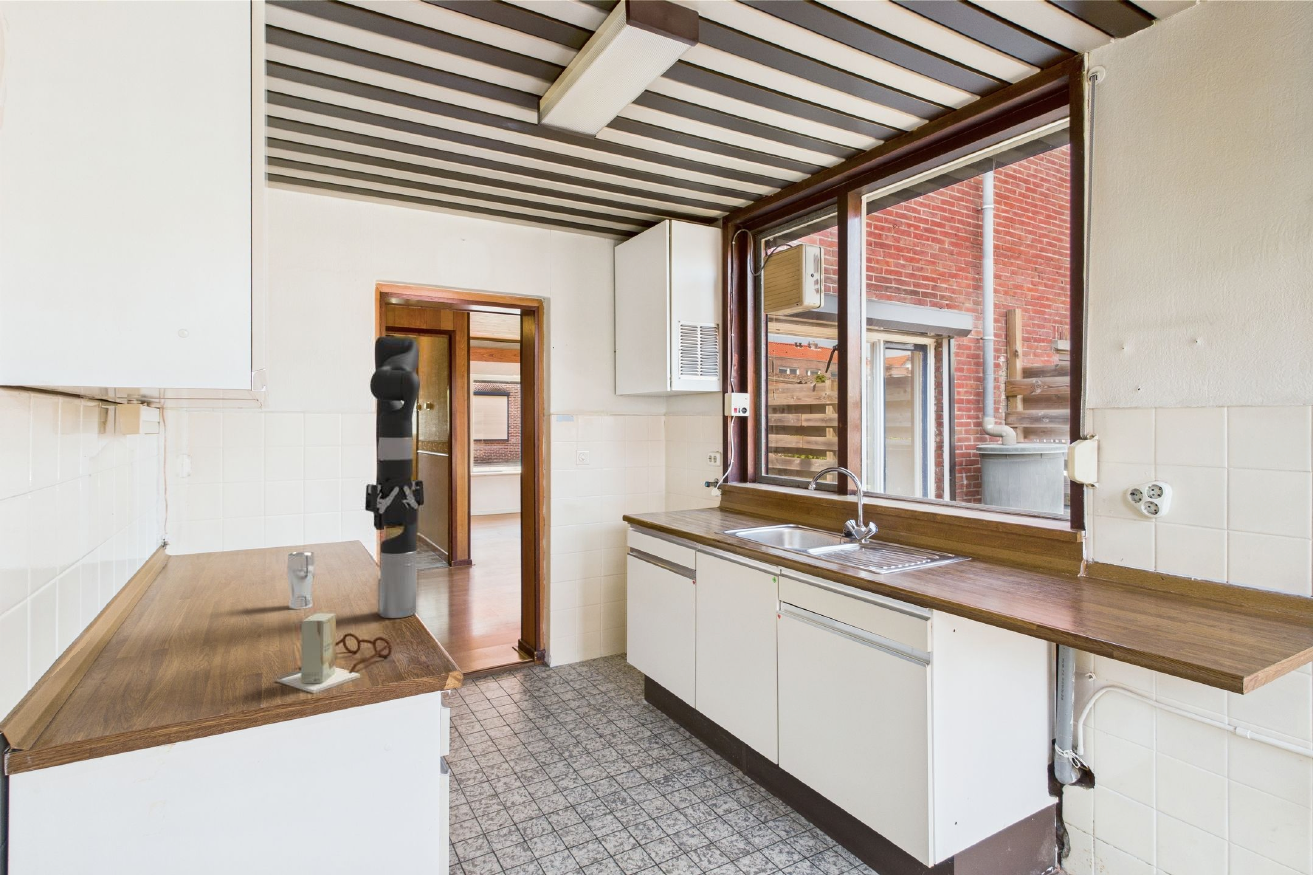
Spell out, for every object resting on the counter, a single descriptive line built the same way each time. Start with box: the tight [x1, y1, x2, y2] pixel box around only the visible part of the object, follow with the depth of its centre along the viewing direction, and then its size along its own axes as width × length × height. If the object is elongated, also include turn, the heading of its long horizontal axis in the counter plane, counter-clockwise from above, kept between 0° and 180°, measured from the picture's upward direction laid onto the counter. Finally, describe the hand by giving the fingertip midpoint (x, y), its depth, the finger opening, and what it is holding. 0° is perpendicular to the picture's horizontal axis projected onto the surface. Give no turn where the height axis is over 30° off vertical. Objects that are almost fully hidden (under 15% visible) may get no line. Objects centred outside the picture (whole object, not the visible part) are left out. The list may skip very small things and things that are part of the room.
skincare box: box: [300, 613, 337, 683], centre depth 134 cm, size 6×4×12 cm
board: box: [276, 666, 361, 694], centre depth 136 cm, size 12×10×1 cm
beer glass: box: [286, 551, 316, 610], centre depth 192 cm, size 7×7×15 cm
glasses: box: [299, 632, 393, 673], centre depth 145 cm, size 13×13×5 cm
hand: (395, 527), depth 156 cm, fingers open, 8 cm apart
